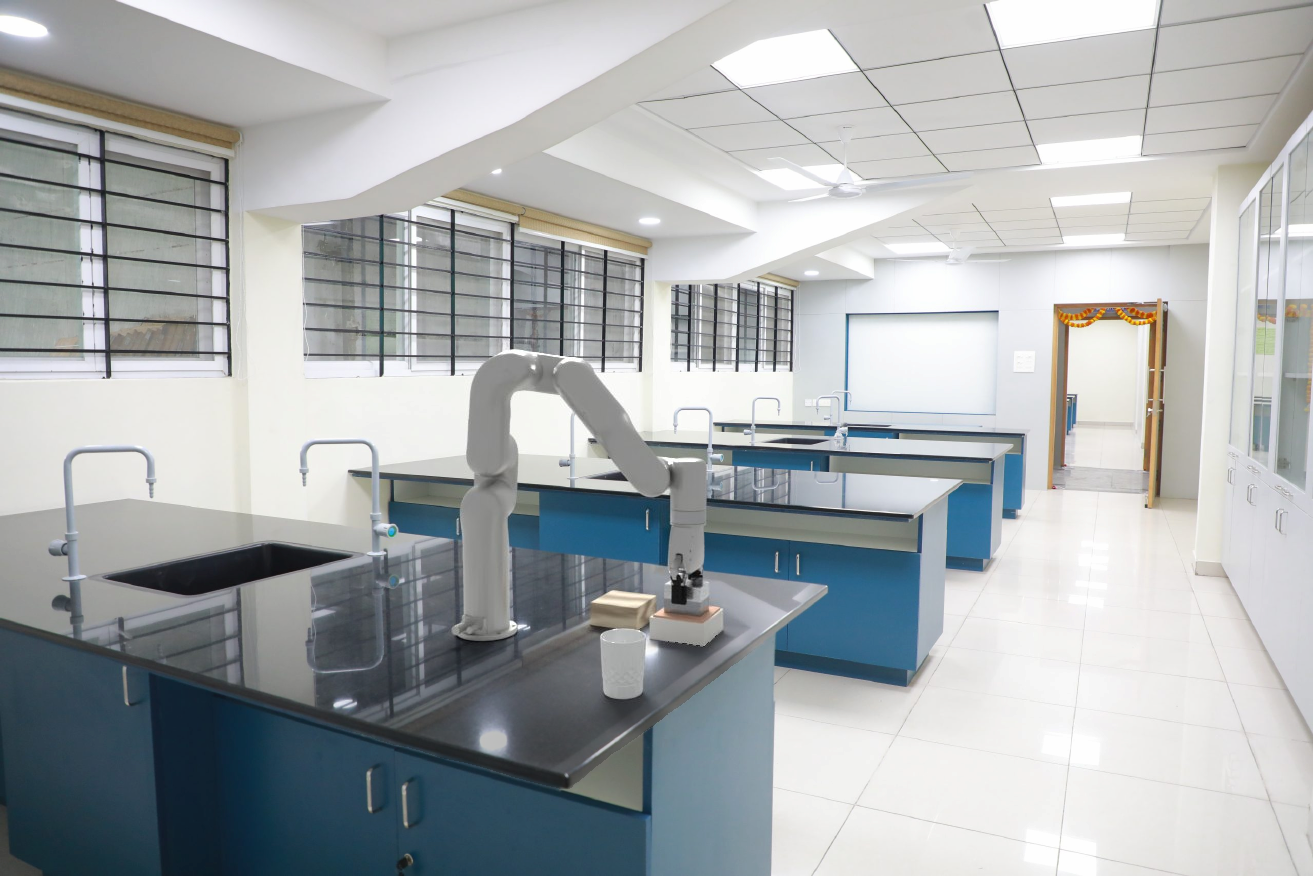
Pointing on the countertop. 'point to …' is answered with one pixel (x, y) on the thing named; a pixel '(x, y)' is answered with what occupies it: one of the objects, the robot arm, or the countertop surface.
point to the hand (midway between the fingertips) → (687, 598)
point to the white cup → (623, 662)
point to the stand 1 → (623, 610)
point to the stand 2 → (686, 626)
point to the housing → (689, 598)
